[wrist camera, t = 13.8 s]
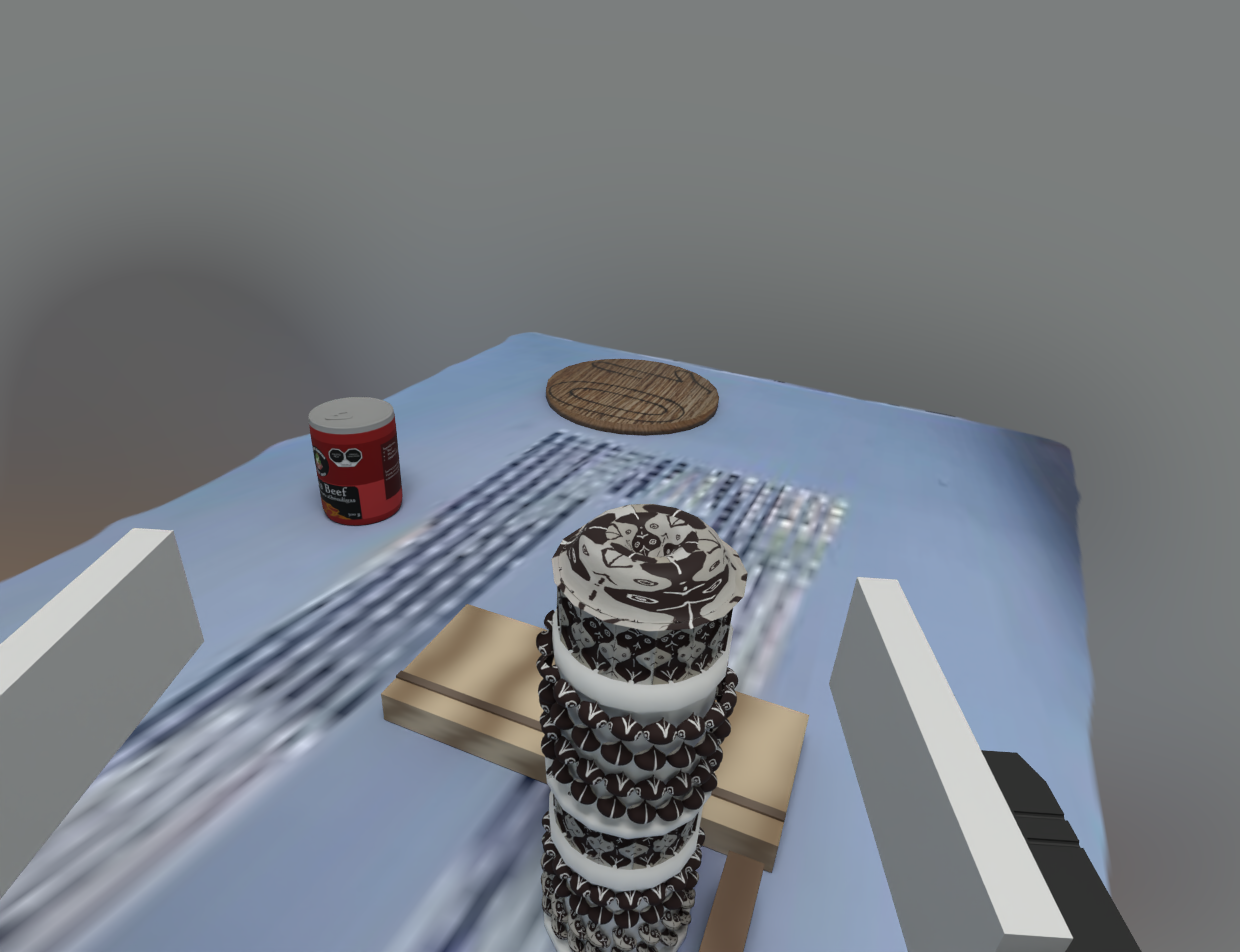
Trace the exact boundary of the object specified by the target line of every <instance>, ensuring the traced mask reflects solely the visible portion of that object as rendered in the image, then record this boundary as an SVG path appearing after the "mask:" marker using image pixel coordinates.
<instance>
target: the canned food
mask: <svg viewBox="0 0 1240 952" xmlns="http://www.w3.org/2000/svg"><path fill="white" fill-rule="evenodd" d="M309 426H310V434H311V440H312V446H313V452H314V458H315V464H316V470H317V476H318V482H319V488H320V494H321V500H322V506H323V509H324V511H325V513H326V514H327V516H328V517H329V518H330V519H331V520H333V521H335V522H337V523H341V524H345V525H366V524H372V523H376V522H379V521H382V520H385V519H387V518H389V517H390V516H392V515H393V514H395V513H396V512H397V511H398V510H399V508H400V506H401V502H402V486H401V475H400V464H399V453H398V443H397V432H396V423H395V414H394V411H393V407H392V406H391V405H390V404H389V403H387V402H386V401H383V400H379V399H375V398H368V397H351V398H342V399H336V400H332V401H329V402H326V403H323V404H321V405H319V406H317V407H315V408H314V409H312V410H311V412H310V413H309Z"/></svg>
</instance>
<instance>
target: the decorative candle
mask: <svg viewBox="0 0 1240 952" xmlns="http://www.w3.org/2000/svg"><path fill="white" fill-rule="evenodd" d="M552 566H553V574H554V582H555V583H556V585H557V609H556V611H555V612H554V610H552V611H550V612H549V613H548V614H547V615H546V617H545V620H544V625H545V627H546V628H547V629H548V630H547V631H542V632H540V633H539V634H538V635H537V637H536V646H537V649H538V650H539V652H540V653H541V654H542V655H541V656H540V657H539V658H538V660H537V662H536V666H537V670H538V671H539V673H540V675H541V676H542V677H543V678H544V679H543V680H542V681H541V682H540V684H539V687H538V695H539V703H540V706H541V708H542V709H543V710H544V711H543V713H542V714H541V716H540V724H541V730H542V732H543V733H544V734H545V735H544V737H543V738H542V741H541V750H542V753H543V754H544V755H545V766H546V778H547V784H548V786H549V787H550V789H551V792H550V795H549V811H547V812H546V813H545V815H544V816H543V819H542V825H543V827H544V829H545V830H546V833H545V834H544V835H543V838H542V843H543V848H544V854H543V856H542V859H541V866H542V869H543V873H542V876H541V883H542V890H543V898H542V908H543V911H544V925H545V928H546V930H547V932H548V934H549V936H550V938H551V940H552V942H553V944H554V946H555V948H556V950H557V952H677V950H678V949H679V947H680V946H681V944H682V943H683V941H684V939H685V938H686V934H687V927H688V924H689V923H690V922H691V916H690V909H691V908H692V907H693V906H694V903H695V901H694V898H695V890H694V889H693V887H695V885H696V884H697V882H698V879H699V875H698V873H697V872H696V871H695V870H696V869H698V868H699V866H700V865H701V858H702V853H701V850H700V849H699V848H700V847H701V846H702V845H703V844H704V841H705V832H704V830H703V829H702V828H701V827H700V821H701V815H702V809H703V805H704V804H705V803H706V801H707V800H708V799H709V797H710V796H711V792H712V791H713V790H714V789H715V788H716V787H717V783H718V781H717V777H716V775H715V771H716V770H717V769H718V768H719V766H720V763H721V762H722V759H723V751H722V748H721V747H720V744H722V742H723V741H724V739H725V738H726V737H727V736H729V734H730V732H731V724H730V722H729V720H728V719H727V718H728V717H730V716H731V714H732V713H733V710H734V707H735V705H736V703H737V695H736V692H735V690H734V688H735V687H736V686H737V684H738V678H737V675H736V674H735V672H734V671H733V670H732V669H730V668H728V667H727V666H728V658H729V652H730V646H731V640H732V634H733V628H732V625H731V617H732V611H733V607H734V606H735V605H736V604H737V603H738V602H739V601H740V600H741V599H742V598H743V597H744V593H745V586H746V580H747V572H746V570H745V568H744V566H743V564H742V562H741V560H740V558H739V556H738V554H737V552H736V551H735V550H734V549H733V548H731V547H730V546H729V545H728V544H726V543H725V542H724V541H723V540H721V539H720V538H719V536H718V534H717V533H716V532H715V531H714V530H713V529H712V528H711V527H709V526H708V525H707V524H706V523H704V522H703V521H702V520H701V519H699V518H698V517H696V516H694V515H691V514H689V513H687V512H684V511H682V510H679V509H677V508H672V507H667V506H661V505H655V504H636V505H626V506H622V507H619V508H615V509H611V510H607V511H605V512H604V513H602V514H601V515H599V516H597V517H596V518H594V519H593V520H591V521H590V522H588V523H587V524H586V525H584V526H583V527H581V528H579V529H578V530H576V531H575V532H573V533H572V534H570V535H569V536H567V537H566V538H564V539H563V540H562V542H561V544H560V546H559V547H558V549H557V551H556V553H555V554H554V556H553V558H552ZM554 659H555V665H553V666H552V663H553V660H554ZM715 700H717V702H715Z"/></svg>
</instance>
